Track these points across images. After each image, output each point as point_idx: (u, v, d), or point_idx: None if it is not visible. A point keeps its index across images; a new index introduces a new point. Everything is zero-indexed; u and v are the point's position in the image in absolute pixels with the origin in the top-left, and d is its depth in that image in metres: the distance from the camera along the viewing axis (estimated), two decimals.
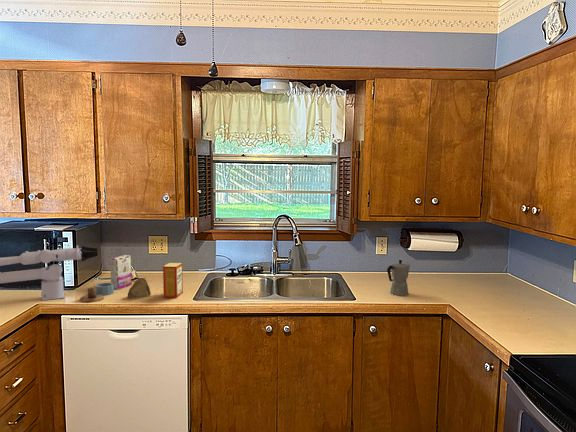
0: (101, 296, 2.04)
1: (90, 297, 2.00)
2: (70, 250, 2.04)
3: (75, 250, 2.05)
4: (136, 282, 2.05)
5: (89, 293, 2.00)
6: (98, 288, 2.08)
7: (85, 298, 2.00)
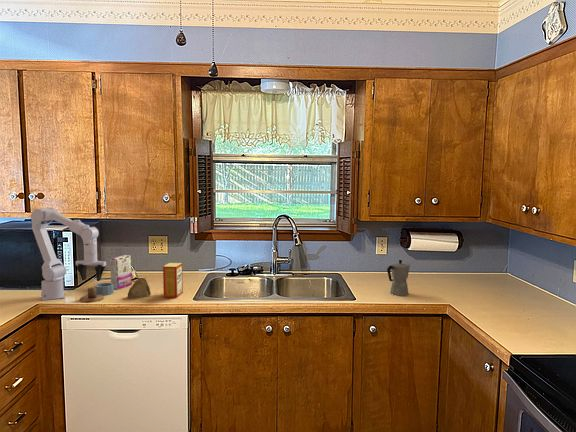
0: (101, 296, 2.04)
1: (90, 297, 2.00)
2: (84, 256, 1.98)
3: (84, 261, 1.98)
4: (136, 282, 2.05)
5: (89, 293, 2.00)
6: (98, 288, 2.08)
7: (85, 298, 2.00)
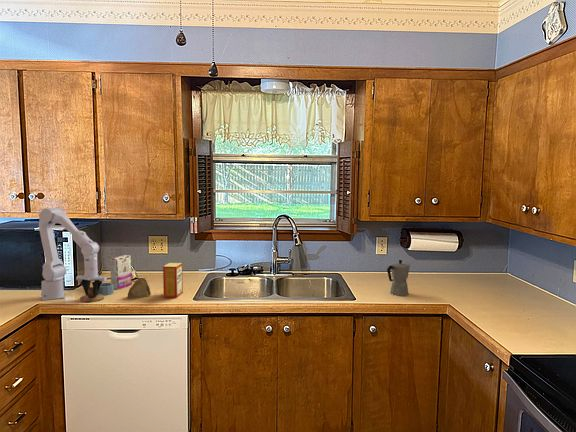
0: (101, 295, 2.04)
1: (90, 296, 2.00)
2: (85, 271, 1.99)
3: (85, 276, 1.99)
4: (136, 282, 2.05)
5: (89, 292, 2.00)
6: None
7: (85, 297, 2.00)
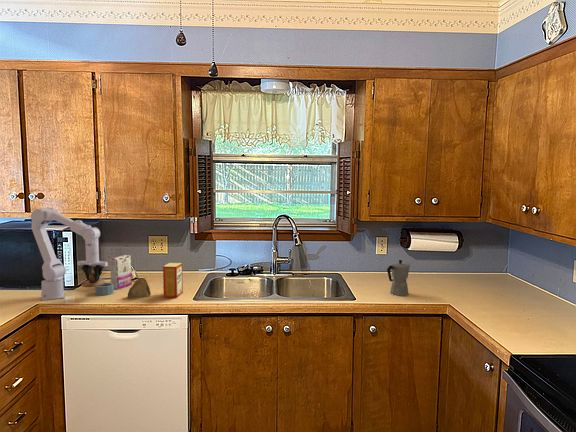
0: (102, 281, 2.04)
1: (91, 281, 2.01)
2: (86, 256, 1.99)
3: (86, 261, 2.00)
4: (136, 282, 2.05)
5: (90, 277, 2.01)
6: (98, 288, 2.08)
7: (86, 282, 2.01)
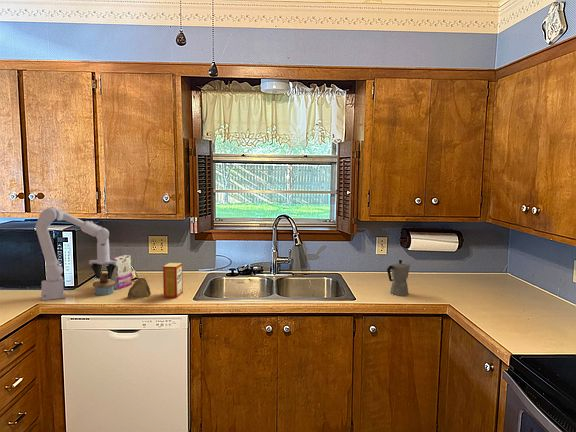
0: (112, 281, 2.14)
1: (102, 282, 2.10)
2: (97, 256, 2.09)
3: (97, 260, 2.09)
4: (136, 282, 2.05)
5: (101, 278, 2.10)
6: (98, 288, 2.08)
7: (97, 283, 2.10)
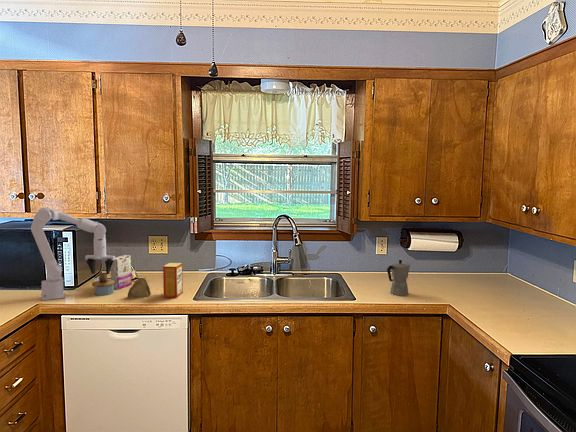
0: (112, 281, 2.14)
1: (102, 282, 2.10)
2: (94, 251, 2.10)
3: (94, 255, 2.10)
4: (136, 282, 2.05)
5: (101, 278, 2.10)
6: (98, 288, 2.08)
7: (97, 283, 2.10)
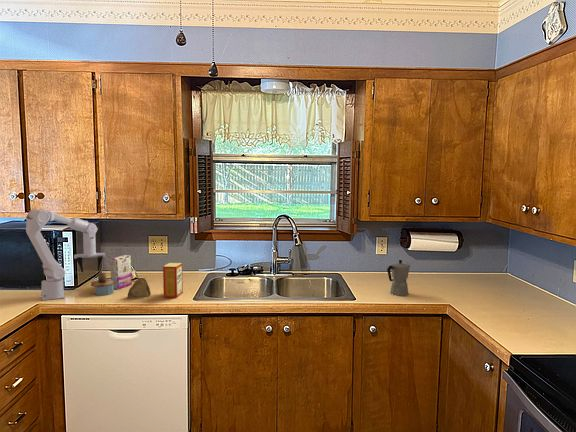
0: (111, 281, 2.15)
1: (101, 281, 2.11)
2: (85, 249, 2.14)
3: (85, 253, 2.14)
4: (136, 282, 2.05)
5: (100, 278, 2.11)
6: (98, 288, 2.08)
7: (96, 283, 2.11)
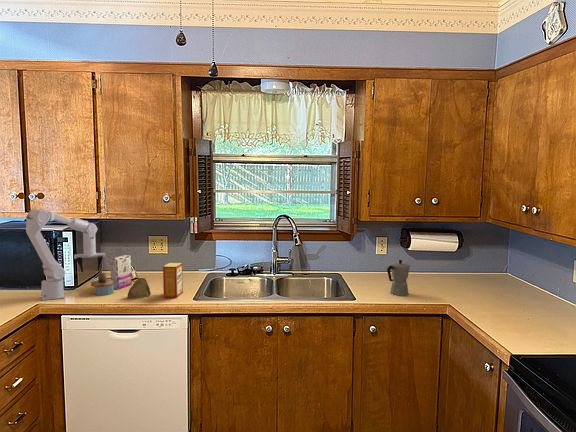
0: (111, 281, 2.15)
1: (101, 281, 2.11)
2: (85, 249, 2.14)
3: (85, 253, 2.14)
4: (136, 282, 2.05)
5: (100, 278, 2.11)
6: (98, 288, 2.08)
7: (96, 283, 2.11)
